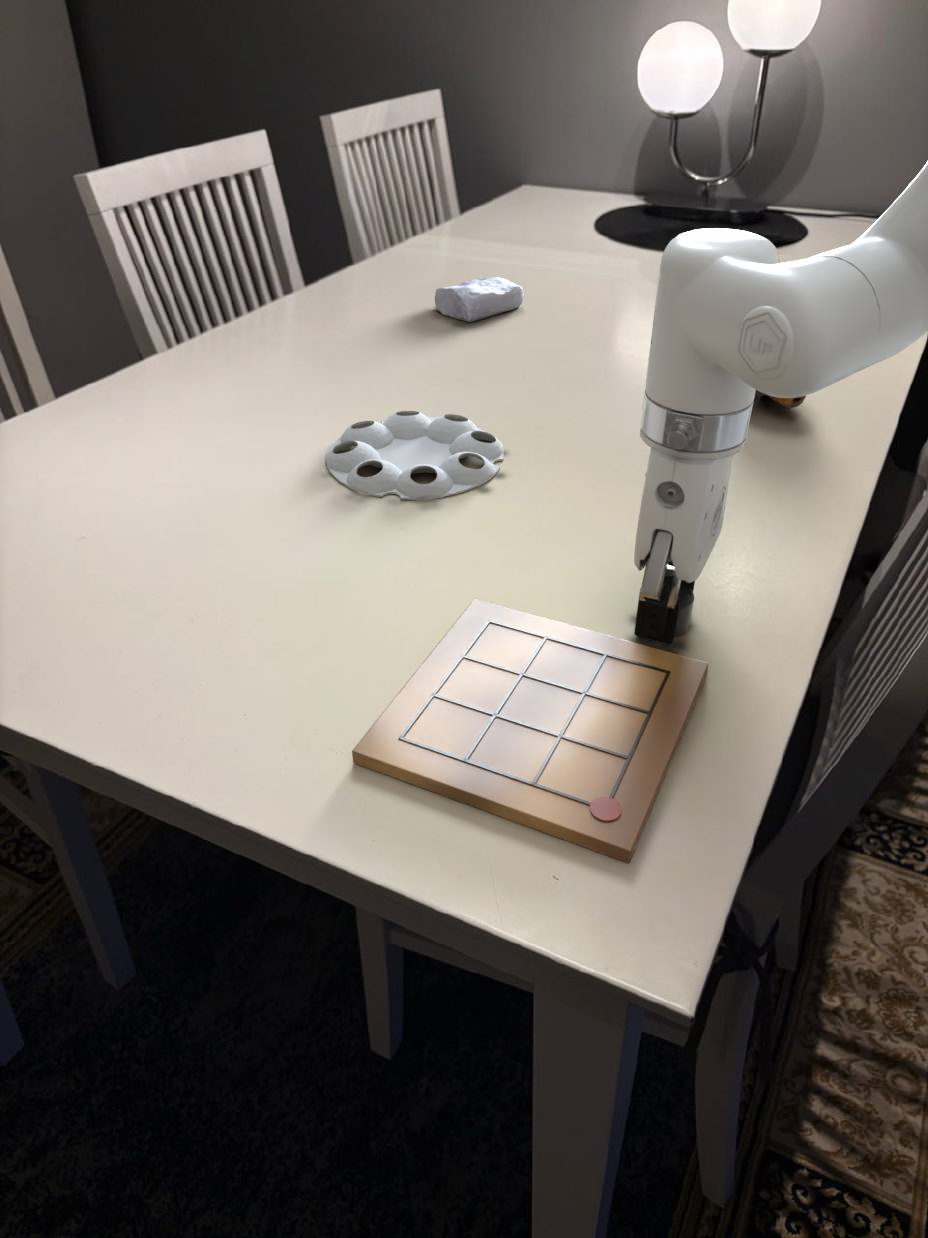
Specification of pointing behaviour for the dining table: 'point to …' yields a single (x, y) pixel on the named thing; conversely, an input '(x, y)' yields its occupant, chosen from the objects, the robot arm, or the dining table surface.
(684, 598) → the grey metallic short cylinder
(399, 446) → the round palette
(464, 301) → the block
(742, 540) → the dining table surface
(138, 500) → the dining table surface
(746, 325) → the robot arm
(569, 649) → the game board
